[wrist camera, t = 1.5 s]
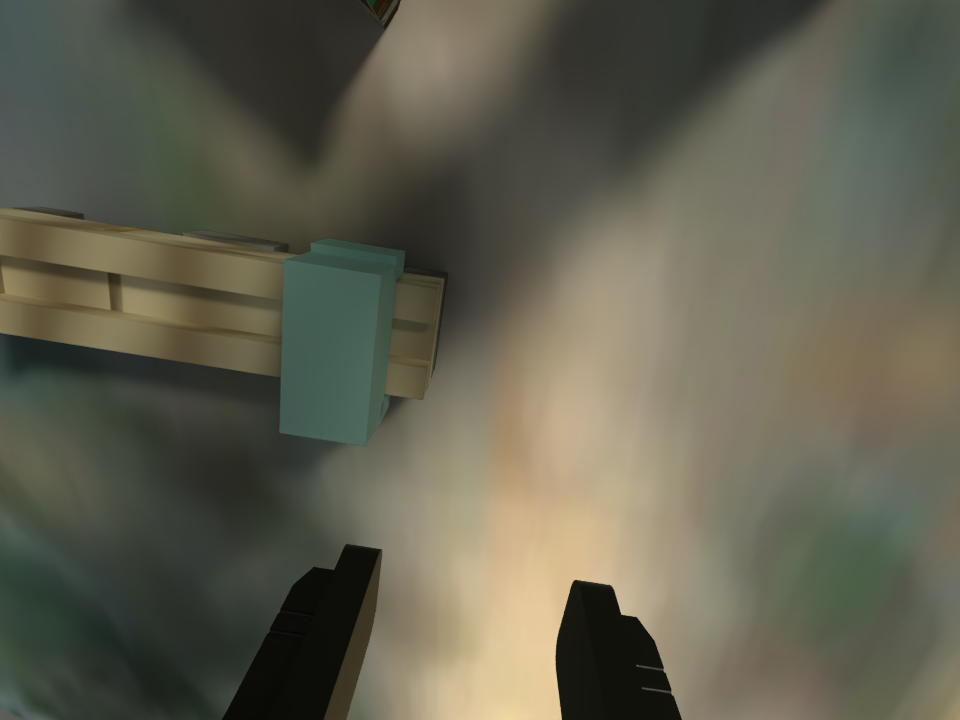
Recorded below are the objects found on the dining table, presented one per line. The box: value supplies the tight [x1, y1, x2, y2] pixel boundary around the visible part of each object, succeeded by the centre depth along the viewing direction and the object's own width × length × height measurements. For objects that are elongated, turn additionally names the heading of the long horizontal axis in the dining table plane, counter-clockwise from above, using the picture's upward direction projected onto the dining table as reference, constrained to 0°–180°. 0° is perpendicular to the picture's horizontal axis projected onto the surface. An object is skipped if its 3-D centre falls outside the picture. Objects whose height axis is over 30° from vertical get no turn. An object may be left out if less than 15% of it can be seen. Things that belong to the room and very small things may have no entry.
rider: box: [279, 238, 406, 446], centre depth 24 cm, size 4×9×5 cm, turn 171°
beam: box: [0, 207, 448, 400], centre depth 27 cm, size 24×6×6 cm, turn 81°
